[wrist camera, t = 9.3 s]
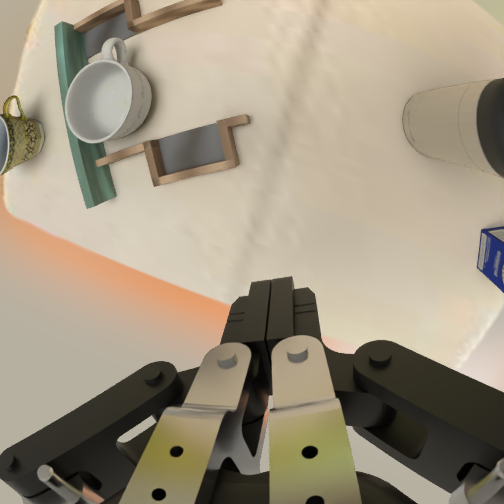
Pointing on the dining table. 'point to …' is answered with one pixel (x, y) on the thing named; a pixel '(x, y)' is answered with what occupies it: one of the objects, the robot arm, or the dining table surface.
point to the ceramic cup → (18, 138)
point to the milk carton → (492, 255)
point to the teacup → (107, 97)
